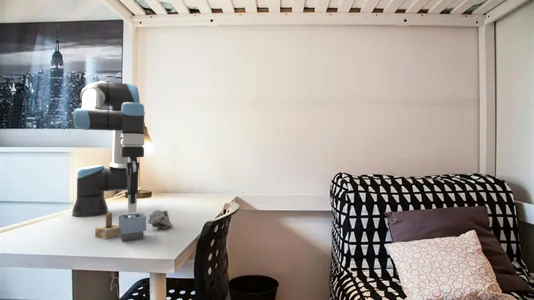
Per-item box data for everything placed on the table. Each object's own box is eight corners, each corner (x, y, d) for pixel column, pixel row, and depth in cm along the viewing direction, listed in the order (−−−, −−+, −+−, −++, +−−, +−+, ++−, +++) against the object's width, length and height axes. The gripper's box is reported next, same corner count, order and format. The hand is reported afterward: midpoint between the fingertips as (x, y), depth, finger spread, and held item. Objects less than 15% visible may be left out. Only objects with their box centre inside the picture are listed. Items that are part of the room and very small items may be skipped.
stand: (95, 236, 111) (95, 214, 111) (111, 232, 117) (111, 211, 117) (105, 238, 108) (105, 216, 108) (122, 234, 114) (122, 213, 114)
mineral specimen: (167, 240, 124) (147, 231, 126) (179, 224, 129) (158, 216, 132) (163, 228, 117) (141, 219, 119) (175, 211, 122) (153, 203, 125)
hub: (120, 237, 110) (120, 215, 110) (140, 234, 114) (141, 213, 114) (122, 242, 105) (122, 218, 105) (143, 239, 108) (143, 216, 108)
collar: (118, 228, 110) (118, 215, 110) (142, 226, 115) (142, 212, 115) (121, 234, 104) (121, 219, 104) (146, 231, 108) (146, 216, 108)
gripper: (119, 146, 113) (119, 210, 113) (122, 145, 102) (122, 216, 102) (141, 146, 117) (140, 208, 117) (146, 146, 105) (146, 214, 105)
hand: (132, 212), depth 109 cm, fingers closed
